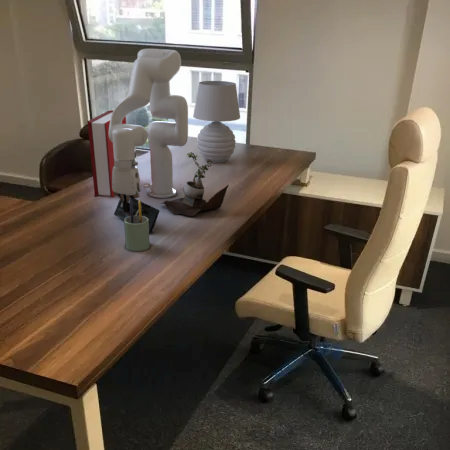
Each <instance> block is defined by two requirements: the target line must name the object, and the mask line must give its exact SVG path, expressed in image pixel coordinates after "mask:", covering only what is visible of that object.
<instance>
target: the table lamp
mask: <svg viewBox="0 0 450 450" xmlns="http://www.w3.org/2000/svg"><path fill="white" fill-rule="evenodd" d="M238 96H239V95H238V90H237V83H236V82H234V81H233V82H232V81H227V80H226V81H225V80H203V81H199V82H198V86H197V92H196V97H195V104H194V108H193V115H192V117H193V118H194V119H196V120H200V121H205V122H210V123H208V124H206V125H204V126H203V127H202V128H201V129H200V131H199V133H198V134H197V139H196V143H197V144H196V148H197V150H198V154H200V155H201V157H202V158H203V159H204V160H205V161H206V162H207V161H208V160H210V161H212V163H224V162H226V161H227V160H229V159H230V158H231V157H232V155H233V154H234V152H235V149H236V143H237V141H236V135H235V134H234V132H233V130H232V129H231V128H230V126H228V125H227V124H225V123H223V122H235V121H238V120H240V119H241V112H240V104H239V98H238Z"/></svg>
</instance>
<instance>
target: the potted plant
mask: <svg viewBox="0 0 450 450" xmlns="http://www.w3.org/2000/svg"><path fill="white" fill-rule="evenodd" d="M186 156H187V157H188V158H192V160H193V162H194V164H195V165H196V166H197V168H198V169H197V171H195V173H194V176H193V178H192V180H191V181H190V180H189V181H186V182H185V185H184V188H183V189H182V192H183V194H184V197H178V198H175V199H172V200H164V201H163V202H161V203H160V205H162V204H163V205H164V206H165V208H166V209H167V210H168V211H169V212H171V213H172V214H173V215H174V216H175V215H184V216H186V217H194V216H195V215H196V214H198V213H200V212H204V211H209V210H218V209H221V207H222V205H223V202H224V200H225V197H226V193H227V190H228V187H229V186H230V185H229V184H227V185H226V186H225V187H223V188H221V189H220V190H219V191H217V192H216V193H215V194H214V195H213V196H212V197H210V198H209V199H208V201H206V199H204V194H205V186H204V184H203V181H202V179H205V178H206V176H205V175H206V173H207V171H209V167H212V164H213V162H212V161H210V160H208V161H207V160H206V163H207V164H205V165H201V166H200V164H199V162H197V160H198V159H197V157H198V155H195V153H194V152H192V151H191V152H188V153H187V154H186Z"/></svg>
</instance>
